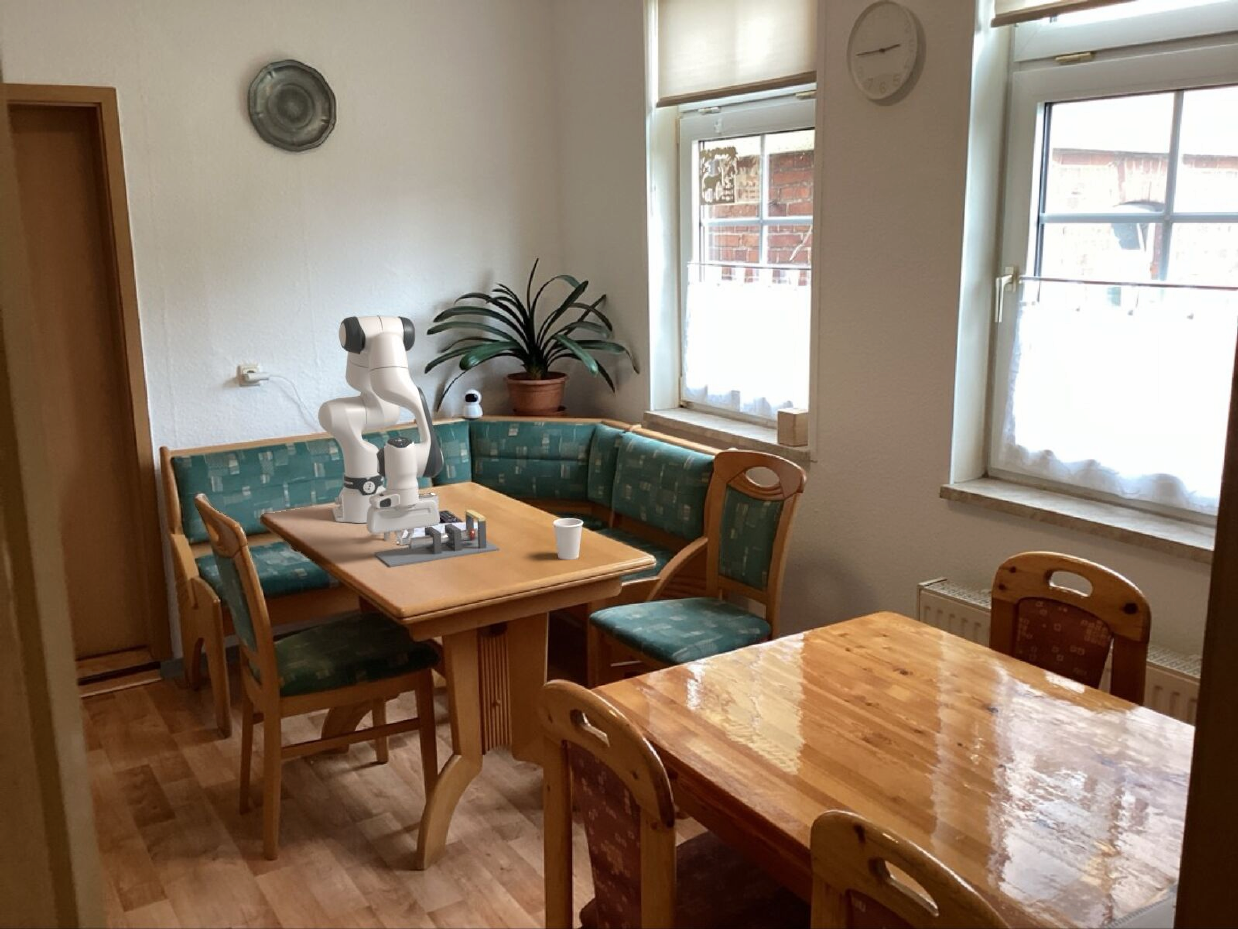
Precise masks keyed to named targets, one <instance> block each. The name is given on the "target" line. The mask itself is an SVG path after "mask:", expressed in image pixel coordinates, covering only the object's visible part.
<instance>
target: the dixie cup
mask: <svg viewBox="0 0 1238 929" xmlns="http://www.w3.org/2000/svg"><path fill="white" fill-rule="evenodd" d="M552 524H553V529H554V535H555V542H556V550H557V557H558V559H561V560H567V561H570V560H575V559H578V558H579V556H580V548H581V547H580V546H581V538H582V529H583V524H584V521H583V520H582V519H578V518H571V517H570V518H569V517H567V518H559V519H555V520H554V521H552Z"/></svg>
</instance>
